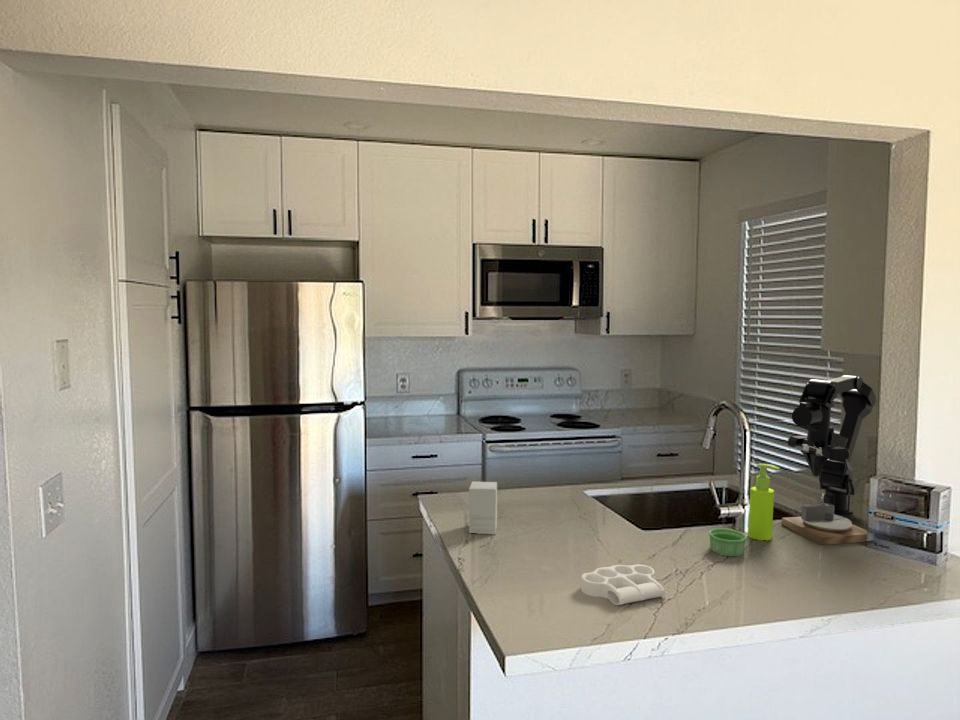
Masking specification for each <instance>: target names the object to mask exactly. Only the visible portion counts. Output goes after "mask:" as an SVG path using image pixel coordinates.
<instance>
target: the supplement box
mask: <svg viewBox="0 0 960 720" xmlns="http://www.w3.org/2000/svg"><path fill="white" fill-rule="evenodd" d="M468 498H469V499H468V515H469V516H468V518H469V519H468V520H469V521H468V529H469V530H468V532H469V534H470V533H477V534H476V535H479V534H480V535H496V533H497V527H498V482H497V481H473V480H471V484H470V485H469V487H468Z"/></svg>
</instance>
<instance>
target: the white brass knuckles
mask: <svg viewBox="0 0 960 720" xmlns="http://www.w3.org/2000/svg"><path fill="white" fill-rule="evenodd" d="M655 573H656V572H655V569H654V568H653V567H651V566H649V565H646V564H642V563H641V564H640V563H637V564H631V565H628V564H627V565H625V564H613V565H611V566H607V567H605V566H604V567H603V566H602V567H597V568H595V570H594V571H591V572H584V573H582V575H581V576H580V577H581V578H580V581H581V582H580V585H581V586H580V591H581V592H582V593H583V594H584V595H587V596H590V597H595V598H605V599H608V600H609V601H610V602H611V603H612V604H613V605H615V606H621V605H625V604H630V603H634V602H635V603H636V602H643V601H645V600H646V601H647V600H651V599H656V598H661V597H665V596H666V589H665V588H664V586H663V585H662V584H661V583H660V582H659V581H658V580H656V579H655V578H656V577H655V575H656V574H655Z"/></svg>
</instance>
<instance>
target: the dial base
mask: <svg viewBox="0 0 960 720" xmlns="http://www.w3.org/2000/svg"><path fill="white" fill-rule="evenodd" d="M781 525H782V526H784V527H785V526H786V527H785V528H787V527H788V529H789V530H791V531H794V532H795V533H798V534H800V535H802V536H803V537H806V538H807V539H809V540H811V541H813V542H815V543H817V544H819V545H822V546H825V545H827V546H828V545H838V544H839V545H841V544H850V543H851V544H852V543H862V542H864V543H865V541H866V539H867V531H868V530H867V529H865V528H861V527H860V526H857V525H855V524H853V523H852V527H851V530H849V531H846V532H831V531H824V530H819V529H815V528H812V527H809V526H807V525H805V524H804V523H803V519H801V516H787V517H781ZM866 542H867V541H866Z"/></svg>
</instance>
